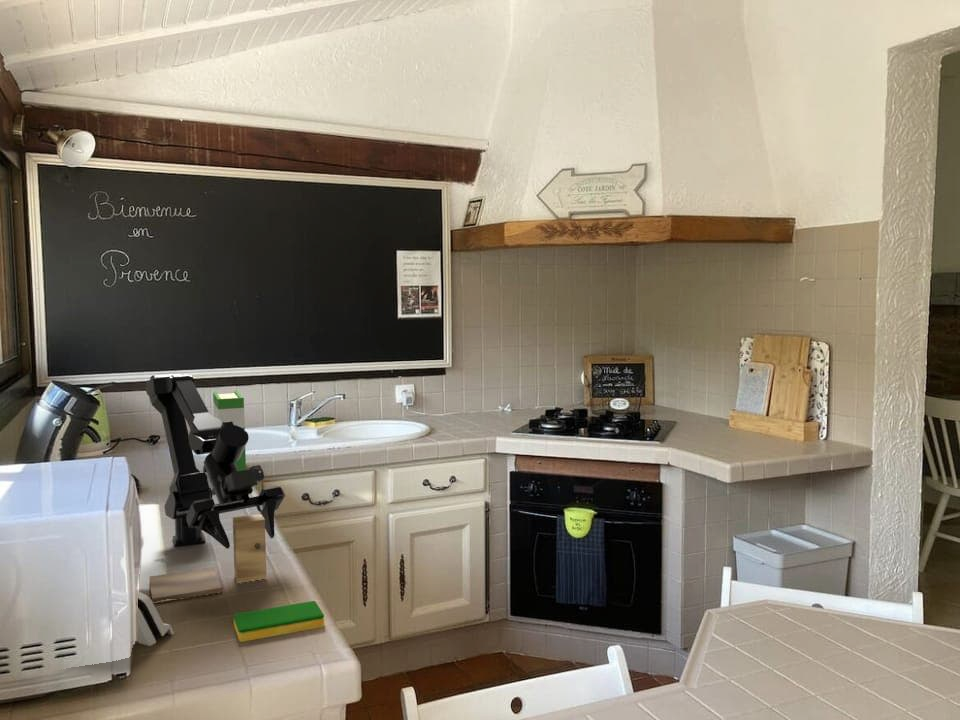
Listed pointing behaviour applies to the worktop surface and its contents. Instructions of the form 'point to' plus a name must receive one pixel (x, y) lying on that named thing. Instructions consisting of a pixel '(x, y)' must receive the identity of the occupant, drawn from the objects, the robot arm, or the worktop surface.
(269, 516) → the robot arm
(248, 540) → the wooden block
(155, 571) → the worktop surface
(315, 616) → the dish sponge
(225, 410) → the carton
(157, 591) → the base board
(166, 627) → the grey angled piece
